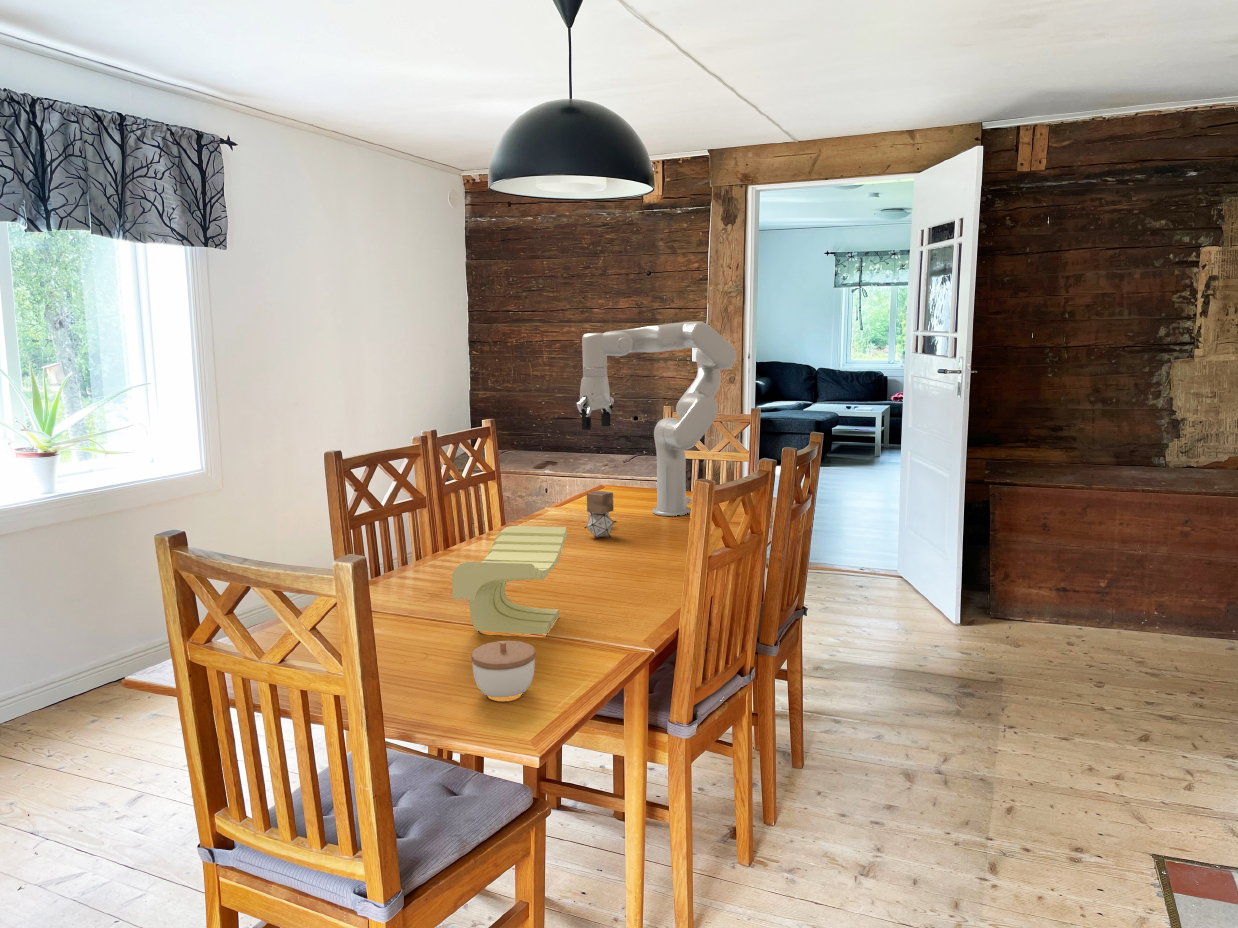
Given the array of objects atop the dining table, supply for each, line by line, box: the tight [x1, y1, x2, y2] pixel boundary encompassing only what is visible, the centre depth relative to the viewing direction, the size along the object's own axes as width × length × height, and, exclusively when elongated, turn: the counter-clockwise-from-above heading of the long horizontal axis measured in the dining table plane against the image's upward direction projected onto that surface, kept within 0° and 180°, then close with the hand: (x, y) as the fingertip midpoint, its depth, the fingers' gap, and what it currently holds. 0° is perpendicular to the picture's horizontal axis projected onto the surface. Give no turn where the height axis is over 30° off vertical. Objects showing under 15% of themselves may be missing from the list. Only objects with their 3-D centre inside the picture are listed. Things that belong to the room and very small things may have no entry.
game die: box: [584, 512, 618, 540], centre depth 255 cm, size 9×8×10 cm
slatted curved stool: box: [451, 525, 568, 634], centre depth 180 cm, size 30×16×18 cm, turn 171°
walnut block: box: [586, 490, 614, 514], centre depth 253 cm, size 6×6×6 cm
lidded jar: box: [471, 640, 536, 697], centre depth 146 cm, size 11×11×9 cm
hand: (596, 427), depth 271 cm, fingers open, 9 cm apart
